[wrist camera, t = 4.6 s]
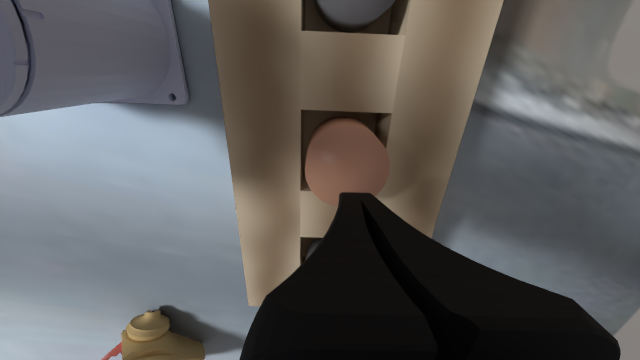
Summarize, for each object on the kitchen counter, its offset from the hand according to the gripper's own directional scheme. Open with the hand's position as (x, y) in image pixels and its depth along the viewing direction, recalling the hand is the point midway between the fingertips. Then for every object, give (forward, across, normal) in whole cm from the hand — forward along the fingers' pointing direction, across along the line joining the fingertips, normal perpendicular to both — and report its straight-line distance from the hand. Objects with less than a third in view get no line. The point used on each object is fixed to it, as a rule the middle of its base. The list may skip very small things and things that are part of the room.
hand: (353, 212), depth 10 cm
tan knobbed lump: (+10, +19, +24) cm, 32 cm away
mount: (+10, 0, -1) cm, 10 cm away
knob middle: (+6, 0, -1) cm, 6 cm away
